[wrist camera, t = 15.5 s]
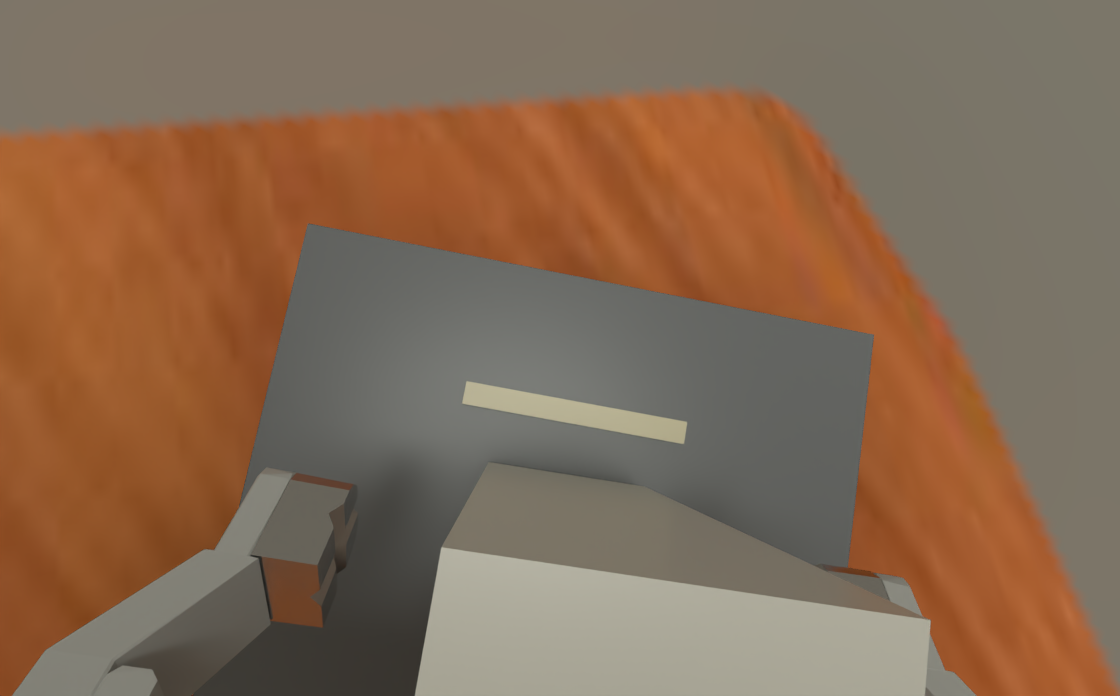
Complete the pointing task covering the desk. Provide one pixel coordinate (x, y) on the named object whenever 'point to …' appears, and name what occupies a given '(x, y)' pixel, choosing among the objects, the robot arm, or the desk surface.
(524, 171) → the desk surface
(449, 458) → the keyhole plate
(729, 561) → the post
